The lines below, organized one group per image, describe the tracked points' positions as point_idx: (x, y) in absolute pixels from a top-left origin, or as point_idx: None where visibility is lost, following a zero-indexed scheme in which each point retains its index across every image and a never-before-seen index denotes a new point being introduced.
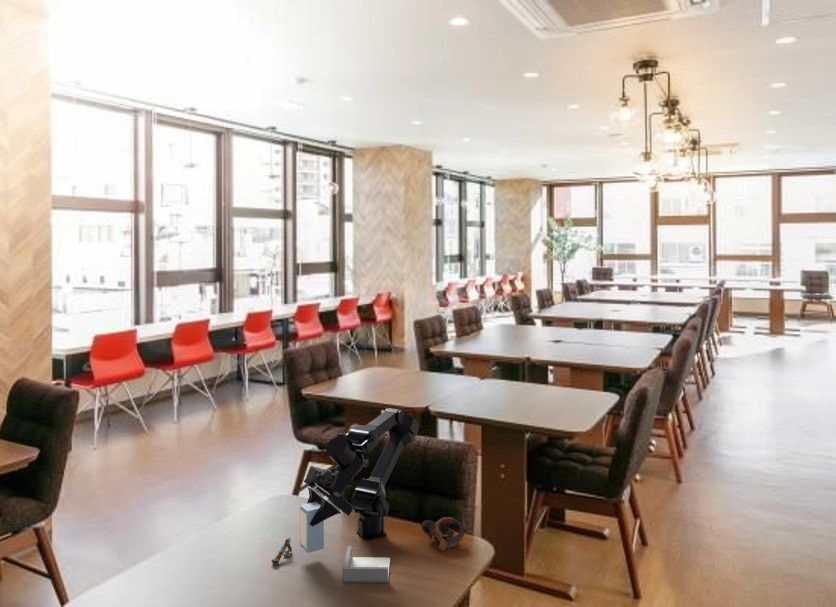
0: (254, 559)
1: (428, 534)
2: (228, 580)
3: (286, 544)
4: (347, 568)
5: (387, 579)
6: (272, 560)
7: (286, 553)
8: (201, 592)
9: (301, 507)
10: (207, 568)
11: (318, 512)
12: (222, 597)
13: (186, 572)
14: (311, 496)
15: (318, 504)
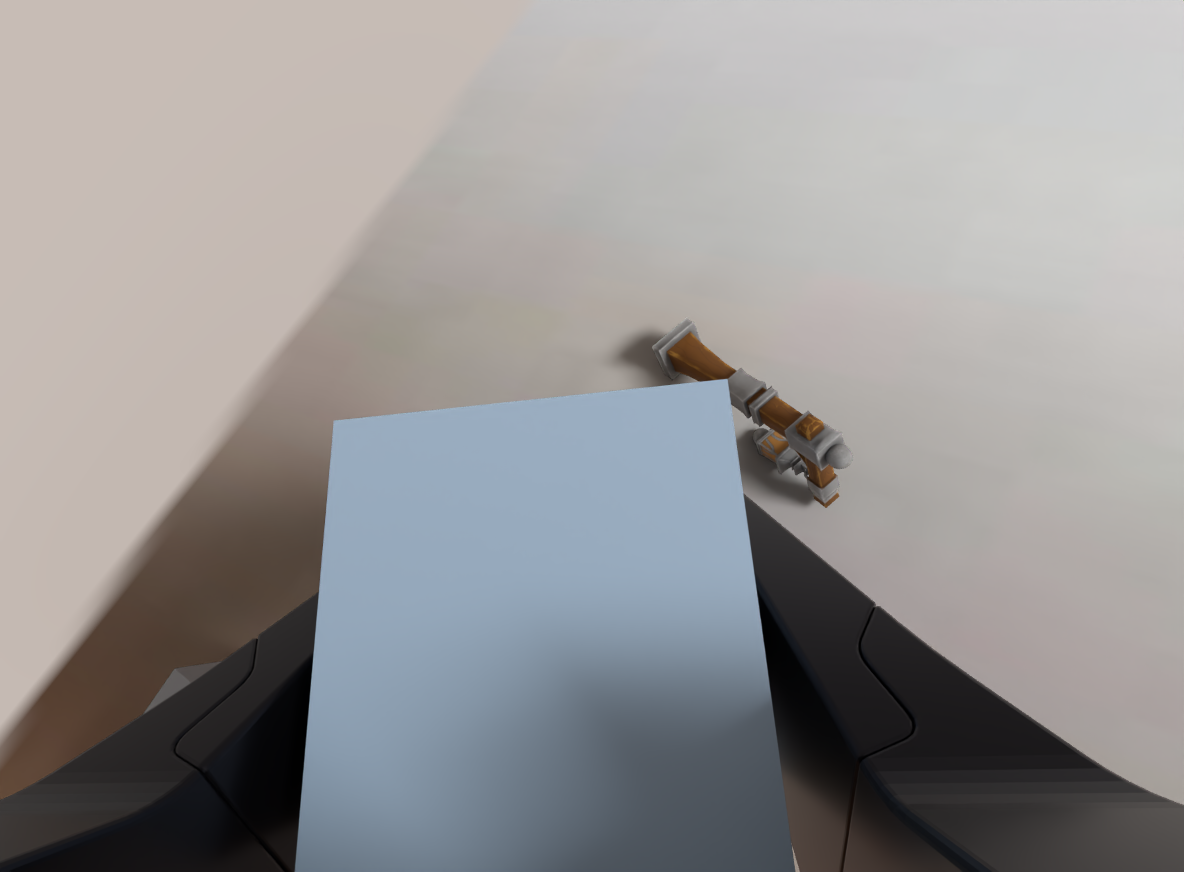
0: (819, 263)
1: None
2: (630, 116)
3: (776, 422)
4: (153, 706)
5: None
6: (695, 329)
7: (774, 446)
8: (580, 14)
9: (650, 398)
10: (815, 40)
11: (248, 652)
12: (488, 83)
13: None
14: (942, 815)
15: (542, 842)
